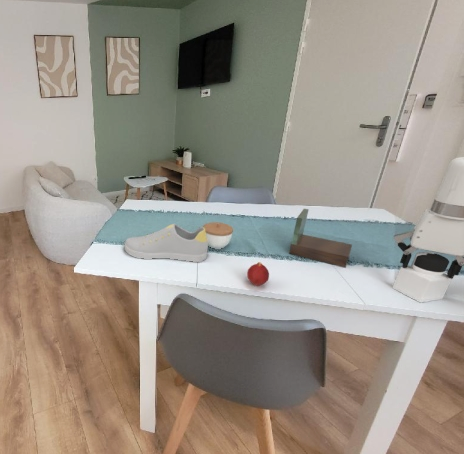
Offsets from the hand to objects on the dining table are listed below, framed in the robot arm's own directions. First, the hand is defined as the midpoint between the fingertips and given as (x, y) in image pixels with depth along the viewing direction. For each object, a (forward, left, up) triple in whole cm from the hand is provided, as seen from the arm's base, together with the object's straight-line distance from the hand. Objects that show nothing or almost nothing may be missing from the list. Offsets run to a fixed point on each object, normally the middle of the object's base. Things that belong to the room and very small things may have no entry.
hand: (426, 270), depth 78 cm
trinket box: (+55, +4, -8) cm, 56 cm away
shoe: (+67, +22, -8) cm, 71 cm away
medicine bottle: (0, 0, -8) cm, 8 cm away
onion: (+35, +22, -8) cm, 42 cm away
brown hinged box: (+24, -11, -7) cm, 27 cm away
